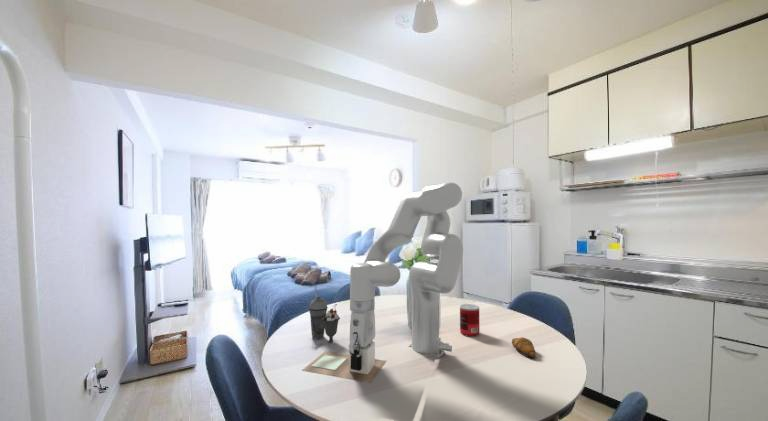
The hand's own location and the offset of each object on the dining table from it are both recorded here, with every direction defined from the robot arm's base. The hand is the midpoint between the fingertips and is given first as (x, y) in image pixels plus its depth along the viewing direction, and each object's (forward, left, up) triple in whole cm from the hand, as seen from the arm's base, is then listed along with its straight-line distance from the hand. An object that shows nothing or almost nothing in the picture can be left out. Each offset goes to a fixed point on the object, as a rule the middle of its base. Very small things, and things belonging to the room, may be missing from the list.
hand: (361, 362), depth 92 cm
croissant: (-49, -33, -3) cm, 59 cm away
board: (+5, 0, -3) cm, 6 cm away
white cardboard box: (0, 0, -2) cm, 2 cm away
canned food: (-30, -45, -3) cm, 54 cm away
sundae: (+18, -15, -3) cm, 24 cm away
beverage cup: (+27, -21, -3) cm, 35 cm away
